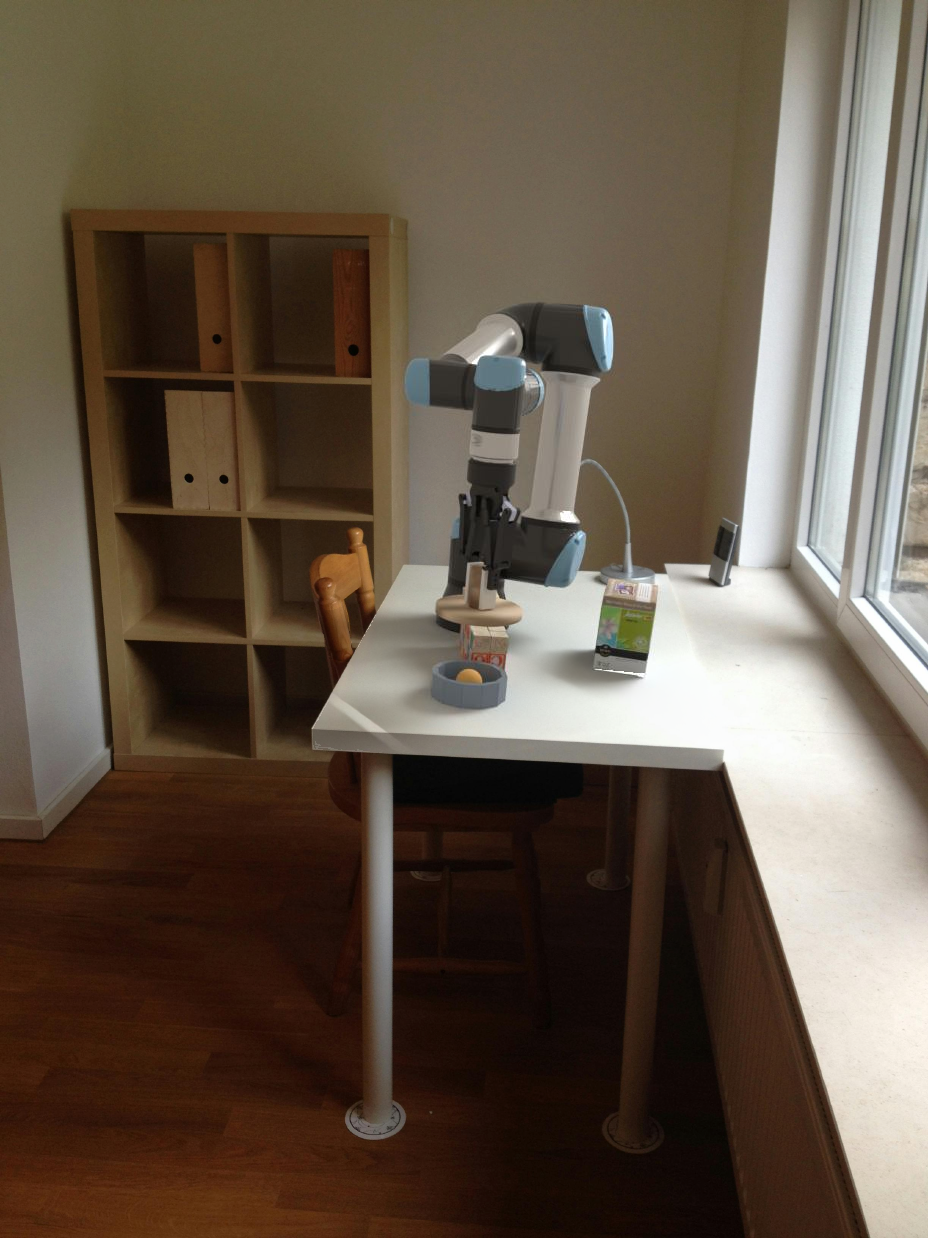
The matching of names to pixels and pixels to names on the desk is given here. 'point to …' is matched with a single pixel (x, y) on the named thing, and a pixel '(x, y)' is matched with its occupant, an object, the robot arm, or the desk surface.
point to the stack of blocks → (484, 643)
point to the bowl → (468, 685)
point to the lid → (477, 607)
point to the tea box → (625, 626)
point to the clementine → (469, 676)
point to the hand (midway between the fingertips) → (479, 604)
